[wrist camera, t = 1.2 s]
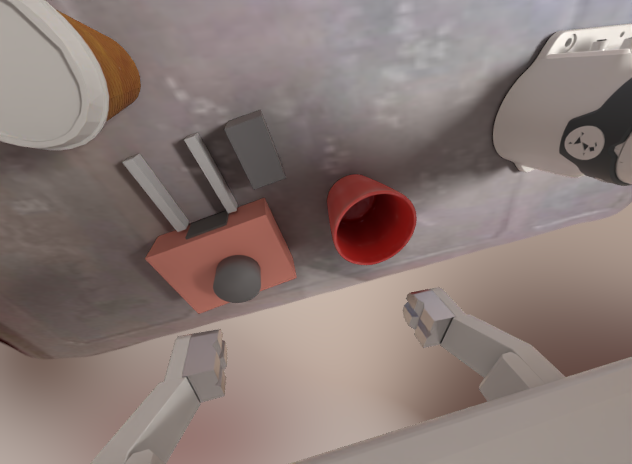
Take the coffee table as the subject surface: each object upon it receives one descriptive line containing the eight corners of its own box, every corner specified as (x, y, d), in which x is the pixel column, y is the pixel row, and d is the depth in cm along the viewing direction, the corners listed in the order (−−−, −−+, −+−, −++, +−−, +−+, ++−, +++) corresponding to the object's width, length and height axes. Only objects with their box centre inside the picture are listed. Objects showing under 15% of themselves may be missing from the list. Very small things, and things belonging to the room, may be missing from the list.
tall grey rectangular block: (260, 109, 28) (261, 115, 24) (282, 164, 32) (285, 178, 28) (228, 121, 28) (223, 129, 24) (253, 174, 32) (253, 189, 28)
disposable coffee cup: (173, 119, 27) (126, 146, 17) (78, 128, 26) (-31, 162, 16) (132, 4, 22) (31, -51, 12) (10, 7, 20) (-217, -52, 11)
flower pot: (323, 235, 40) (340, 275, 32) (310, 173, 34) (327, 204, 26) (383, 218, 41) (414, 254, 33) (382, 155, 34) (419, 179, 27)
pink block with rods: (228, 121, 28) (220, 136, 22) (292, 257, 41) (299, 292, 35) (99, 168, 28) (51, 197, 22) (204, 289, 41) (194, 330, 35)
